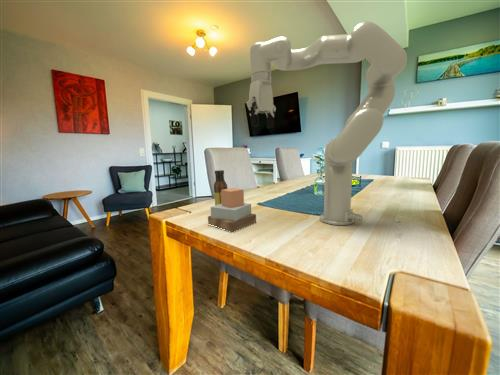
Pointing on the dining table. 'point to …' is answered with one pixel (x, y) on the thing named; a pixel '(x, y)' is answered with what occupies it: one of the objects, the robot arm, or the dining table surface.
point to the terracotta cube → (232, 197)
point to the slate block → (230, 212)
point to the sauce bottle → (219, 186)
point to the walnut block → (233, 222)
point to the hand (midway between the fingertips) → (263, 127)
